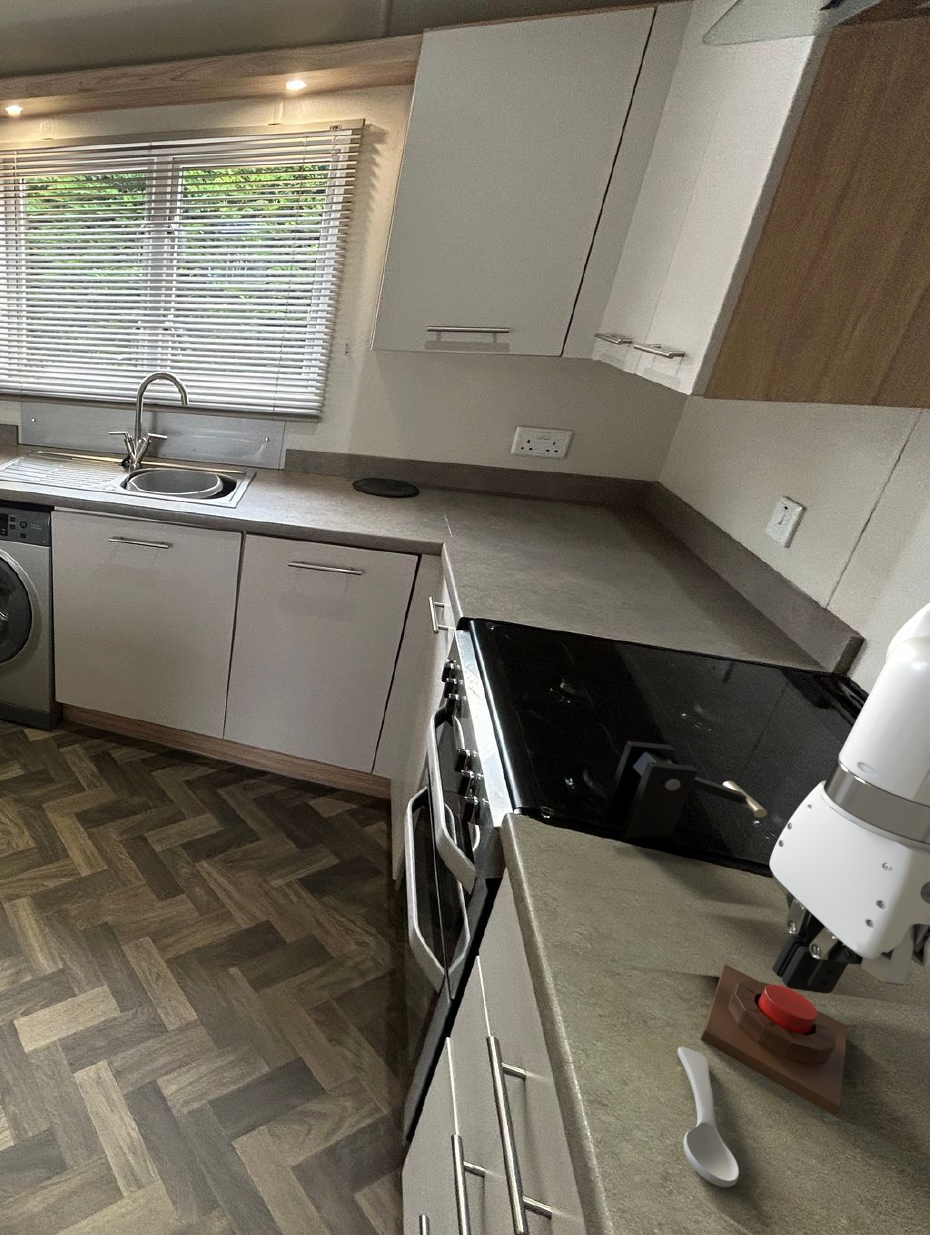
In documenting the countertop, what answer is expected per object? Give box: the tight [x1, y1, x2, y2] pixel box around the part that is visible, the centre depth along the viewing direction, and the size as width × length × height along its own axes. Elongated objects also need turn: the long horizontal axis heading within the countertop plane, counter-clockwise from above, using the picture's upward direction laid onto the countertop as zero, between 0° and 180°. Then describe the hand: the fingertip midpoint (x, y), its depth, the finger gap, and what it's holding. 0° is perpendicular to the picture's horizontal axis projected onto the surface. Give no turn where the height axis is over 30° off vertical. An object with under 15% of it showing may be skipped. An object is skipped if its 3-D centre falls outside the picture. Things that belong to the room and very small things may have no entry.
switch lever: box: [633, 751, 768, 819], centre depth 79 cm, size 12×5×2 cm, turn 80°
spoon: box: [677, 1046, 740, 1188], centre depth 54 cm, size 3×12×2 cm, turn 145°
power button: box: [758, 984, 818, 1034], centre depth 59 cm, size 3×3×2 cm
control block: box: [700, 963, 848, 1116], centre depth 60 cm, size 10×8×3 cm
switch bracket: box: [600, 740, 699, 847], centre depth 81 cm, size 11×9×12 cm
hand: (800, 982), depth 58 cm, fingers closed
